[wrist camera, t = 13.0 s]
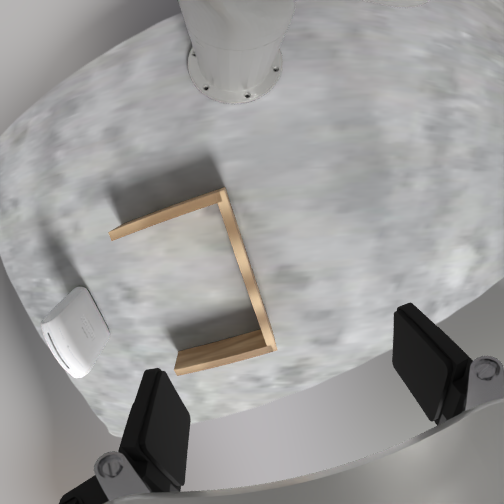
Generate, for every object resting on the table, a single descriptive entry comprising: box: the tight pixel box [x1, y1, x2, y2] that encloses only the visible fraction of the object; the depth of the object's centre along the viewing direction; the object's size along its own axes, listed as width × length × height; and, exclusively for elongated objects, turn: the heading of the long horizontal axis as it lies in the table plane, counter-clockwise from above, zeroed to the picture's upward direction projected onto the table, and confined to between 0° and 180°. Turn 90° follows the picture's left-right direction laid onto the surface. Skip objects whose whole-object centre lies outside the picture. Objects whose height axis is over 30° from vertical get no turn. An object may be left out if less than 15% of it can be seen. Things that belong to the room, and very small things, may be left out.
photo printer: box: [41, 287, 110, 378], centre depth 36 cm, size 10×4×12 cm, turn 17°
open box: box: [108, 187, 277, 376], centre depth 39 cm, size 23×16×5 cm
